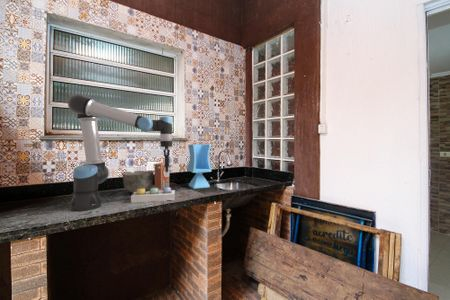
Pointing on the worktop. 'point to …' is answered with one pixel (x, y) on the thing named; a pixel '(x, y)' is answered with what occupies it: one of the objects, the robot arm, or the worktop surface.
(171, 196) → the console
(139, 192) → the button mustard
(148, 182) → the bowl
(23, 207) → the worktop surface
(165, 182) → the cracker box
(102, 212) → the worktop surface
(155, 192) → the button sage
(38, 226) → the worktop surface
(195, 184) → the planter
